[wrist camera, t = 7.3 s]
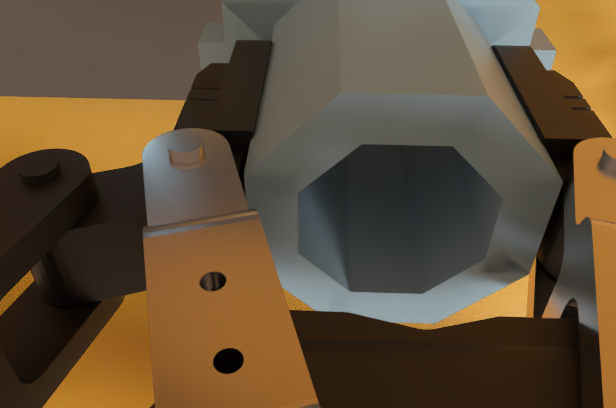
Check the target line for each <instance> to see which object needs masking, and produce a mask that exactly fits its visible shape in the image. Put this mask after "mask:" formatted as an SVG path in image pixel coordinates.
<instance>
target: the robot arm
mask: <svg viewBox="0 0 616 408" xmlns="http://www.w3.org/2000/svg"><path fill="white" fill-rule="evenodd" d="M271 46H272V40H236V43H235V46H234V49H233V52H232V55H231V58H230V61H229V63H211V64H209V65H208V66H207V67H205V68H204V69H203V70H201V71H200V72H199V73H197V74H196V77H195V79H194V81H193V84H192V86H191V90H190V91H189V94H188V96H187V101H185V103H184V106H183V108H182V111H181V113H180V116H179V118H178V121H177V123H176V125H175V128H174V130H173V131H170V132H167V133H164V134H162V135H160V136H158V137H156V138H154V139H153V140H151V141H150V142H149V143H148V144H147V145H146V147H145V148H144V150H143V153H142V163H140V164H137V165H133V166H130V167H125V168H120V169H114V170H108V171H103V172H97V173H92V172H91V168H90V165H89V162H88V160H87V159H86V157H85V156H83V155H82V154H80V153H78V152H76V151H72V150H67V149H46V150H39V151H35V152H31V153H28V154H25V155H23V156H20V157H18V158H16V159H14V160H12V161H10V162H9V163H7V164H6V165H4V166H3V167H2V168H0V301H1V299H2V298H3V297H4V296H5V295H6V294H7V293H8V292H9V291H10V290H11V289H12V288H13V287H14V286H15V285H16V284H17V283H18V282H19V281H20V280H21V279H22V278H23V277H24V276H25V275H26V274H27V273H28V272H29V271H31V273H32V275H33V277H34V280H35V281H34V282H33V283H32V284H31V285H30V286H29V287H28V288H27V289H26V290H25V291H24V292H23V293H22V294H21V295H20V296H19V297H18V298H17V299H16V300H15V301H14V302H13V303H12V304H11V306H10V307H9V308H8V309H7V310H6V311H5V312H4V313H3V314H2V315H1V316H0V408H42V407H43V406H44V404H45V403H46V402H47V401H48V399H49V398H50V397H51V395H52V394H53V393H54V391H55V390H56V389H57V387H58V386H59V385H60V384H61V382H62V381H63V380H64V378H65V377H66V376H67V374H68V373H69V372H70V370H71V369H72V368H73V367H74V365H75V364H76V363H77V361H78V360H79V359H80V357H81V356H82V355H83V353H84V352H85V351H86V350H87V348H88V347H89V346H90V344H91V343H92V342H93V340H94V339H95V338H96V336H97V335H98V334H99V333H100V331H101V330H102V329H103V327H104V326H105V325H106V323H107V322H108V321H109V319H110V318H111V317H112V316H113V314H114V313H115V312H116V310H117V309H118V308H119V306H120V305H121V303H122V302H123V300H124V297H125V295H128V294H132V293H137V292H141V291H146V290H147V302H148V316H149V330H150V344H151V358H152V372H153V387H154V401H155V403H154V404H153V405H152V406H151V407H150V408H616V139H615V138H612V137H611V135H610V134H609V132H608V131H607V130H606V128H605V127H604V125H603V124H602V123H601V121H600V120H599V118H598V117H597V116H596V114H595V113H594V111H591V107H590V106H589V104H588V103H587V101H586V100H585V99H583V96H582V94H581V93H580V92H579V90H578V89H577V87H576V86H575V85H574V83H573V82H571V81H570V80H568V79H567V78H565V77H564V76H562V75H561V74H559V73H557V72H556V71H554V70H546V69H545V67H544V65H543V64H542V62H541V61H540V59H539V58H538V56H537V55H536V53H535V52H534V50H533V49H532V47H531V46H511V45H492V46H491V47H492V49H493V51H494V53H495V55H496V57H497V59H498V61H499V63H500V64H501V66H502V68H503V70H504V72H505V74H506V76H507V78H508V80H509V82H510V83H511V85H512V87H513V89H514V91H515V93H516V95H517V97H518V99H519V101H520V102H521V104H522V106H523V108H524V110H525V112H526V114H527V116H528V118H529V120H530V121H531V123H532V125H533V127H534V129H535V131H536V133H537V135H538V137H539V139H540V140H541V142H542V144H543V146H544V147H545V148H546V150H547V152H548V154H549V156H550V158H551V160H552V162H553V164H554V166H555V167H556V169H557V171H558V173H559V175H560V177H561V179H562V181H563V184H562V187H561V189H560V192H559V195H558V197H557V200H556V203H555V206H554V208H553V211H552V214H551V216H550V219H549V222H548V224H547V227H546V230H545V233H544V235H543V238H542V241H541V243H540V246H539V249H538V252H537V254H536V257H535V260H534V262H533V265H532V268H531V270H530V273H529V282H528V299H527V316H526V317H495V318H490V319H485V320H479V321H474V322H469V323H464V324H459V325H453V326H448V327H443V328H438V329H431V330H422V329H417V328H412V327H408V326H404V325H400V324H396V323H391V322H387V321H383V320H379V319H375V318H370V317H366V316H362V315H358V314H354V313H349V312H330V311H297V310H289V308H288V305H287V302H286V299H285V296H284V293H283V290H282V286H281V283H280V280H279V277H278V274H277V271H276V268H275V265H274V261H273V258H272V255H271V252H270V249H269V246H268V243H267V239H266V236H265V233H264V230H263V227H262V224H261V221H260V218H259V215H258V212H257V210H256V209H255V208H252V209H249V208H248V204H247V201H246V194H245V182H244V171H245V166H246V161H247V156H248V151H249V147H250V142H251V139H253V137H254V132H255V127H256V122H257V117H258V112H259V107H260V102H261V97H262V92H263V87H264V82H265V77H266V72H267V67H268V61H269V56H270V51H271Z"/></svg>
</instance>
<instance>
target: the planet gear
mask: <svg viewBox="0 0 616 408" xmlns="http://www.w3.org/2000/svg"><path fill="white" fill-rule="evenodd" d="M221 4H222V14H223V23H216V22H207V24H206V26H205V29H204V31H203V33H202V35H201V38H200V40H199V42H198V48H199V56H200V64H201V70H203V69H204V68H205V67H207V66H208V65H209V64H211V63H229V61H230V58H231V55H232V52H233V49H234V46H235V43H236V40H272V46H271V51H270V56H269V61H268V67H267V72H266V77H265V82H264V87H263V92H262V97H261V102H260V107H259V112H258V117H257V122H256V127H255V132H254V137H253V139H251V142H250V147H249V151H248V156H247V161H246V166H245V171H244V182H245V194H246V201H247V204H248V208H249V209H252V208H255V209H256V210H257V212H258V215H259V218H260V221H261V224H262V227H263V230H264V233H265V236H266V239H267V243H268V246H269V249H270V252H271V255H272V258H273V261H274V265H275V268H276V271H277V274H278V277H279V280H280V283H281V286H282V288H284V289H285V290H287V291H288V292H289V293H291V294H292V295H294V296H295V297H297V298H298V299H300V300H301V301H302V302H304V303H305V304H307V305H308V306H310V307H311V308H313V309H314V310H315V311H330V312H349V313H354V314H358V315H362V316H366V317H370V318H375V319H379V320H383V321H387V322H399V323H432V324H435V323H437V322H439V321H441V320H443V319H445V318H447V317H448V316H450V315H452V314H454V313H456V312H458V311H460V310H462V309H464V308H466V307H467V306H469V305H471V304H473V303H475V302H477V301H479V300H481V299H483V298H485V297H486V296H488V295H490V294H492V293H494V292H496V291H498V290H500V289H502V288H504V287H505V286H507V285H509V284H511V283H513V282H515V281H517V280H519V279H521V278H523V277H524V276H526V275H528V274H529V273H530V270H531V268H532V265H533V262H534V260H535V257H536V254H537V252H538V249H539V246H540V243H541V241H542V238H543V235H544V233H545V230H546V227H547V224H548V222H549V219H550V216H551V214H552V211H553V208H554V206H555V203H556V200H557V197H558V195H559V192H560V189H561V187H562V184H563V181H562V179H561V177H560V175H559V173H558V171H557V169H556V167H555V166H554V164H553V162H552V160H551V158H550V156H549V154H548V152H547V150H546V148H545V147H544V146H543V144H542V142H541V140H540V139H539V137H538V135H537V133H536V131H535V129H534V127H533V125H532V123H531V121H530V120H529V118H528V116H527V114H526V112H525V110H524V108H523V106H522V104H521V102H520V101H519V99H518V97H517V95H516V93H515V91H514V89H513V87H512V85H511V83H510V82H509V80H508V78H507V76H506V74H505V72H504V70H503V68H502V66H501V64H500V63H499V61H498V59H497V57H496V55H495V53H494V51H493V49H492V47H491V46H492V45H511V46H531V47H532V49H533V50H534V52H535V53H536V55H537V56H538V58H539V59H540V61H541V62H542V64H543V65H544V67H545V69H546V70H551V67H552V64H553V61H554V58H555V54H556V51H557V50H556V49H555V47H554V46H553V45H552V43H551V42H550V41H549V39H548V38H547V37H546V35H545V34H544V32H543V31H542V30H541V29H535V25H536V21H537V17H538V14H539V10H540V7H539V6H538V4H537V3H536V1H535V0H222V2H221Z"/></svg>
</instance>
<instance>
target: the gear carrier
mask: <svg viewBox="0 0 616 408" xmlns="http://www.w3.org/2000/svg"><path fill="white" fill-rule="evenodd" d="M221 2H222V0H0V96H22V97H67V98H113V99H158V100H187V96H188V94H189V91H190V90H191V86H192V84H193V81H194V79H195V77H196V74H197V73H199V72H200V71H201V64H200V56H199V48H198V42H199V40H200V38H201V35H202V33H203V31H204V29H205V26H206V24H207V22H216V23H223V14H222V4H221Z"/></svg>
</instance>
